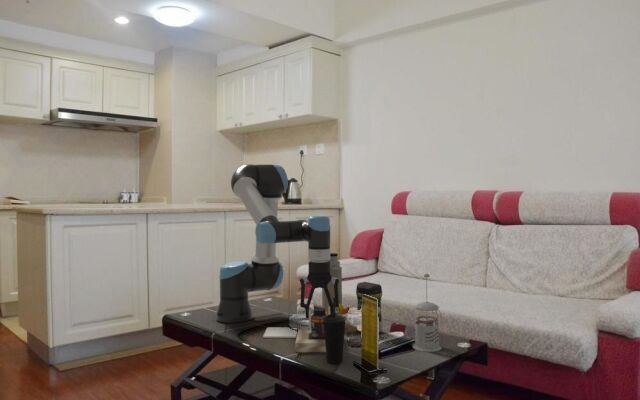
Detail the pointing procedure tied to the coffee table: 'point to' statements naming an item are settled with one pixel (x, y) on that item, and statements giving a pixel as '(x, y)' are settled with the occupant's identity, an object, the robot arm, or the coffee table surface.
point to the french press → (427, 327)
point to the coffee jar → (370, 290)
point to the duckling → (340, 310)
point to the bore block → (308, 343)
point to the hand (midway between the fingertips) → (319, 327)
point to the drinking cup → (334, 336)
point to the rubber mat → (279, 332)
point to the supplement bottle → (317, 324)
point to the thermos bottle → (336, 273)
